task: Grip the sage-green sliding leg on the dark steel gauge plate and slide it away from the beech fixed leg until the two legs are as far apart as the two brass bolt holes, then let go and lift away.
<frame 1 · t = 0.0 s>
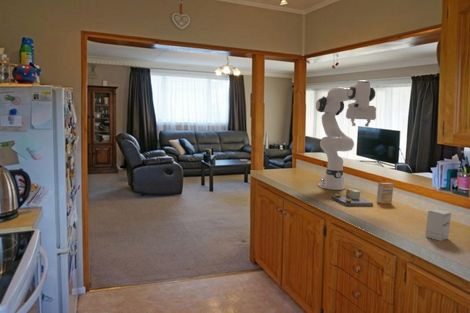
hand: (360, 126, 258), 48 cm above the worktop, tool pointing down, fingers open, 8 cm apart
fixed leg: (350, 199, 255), resting on gauge plate
sliding leg: (355, 194, 248), point 5 cm above the worktop, slide at 6.0 cm
supplement box: (384, 203, 250), on the worktop
supplement box 2: (436, 238, 180), on the worktop
gauge plate: (351, 202, 247), on the worktop
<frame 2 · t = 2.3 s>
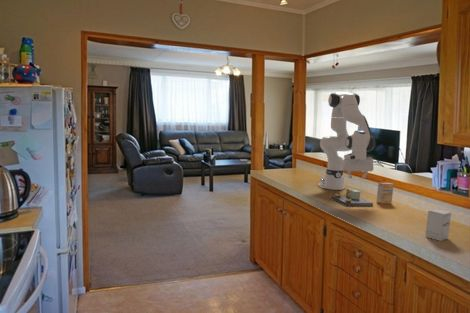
hand: (357, 178, 247), 16 cm above the worktop, tool pointing down, fingers open, 8 cm apart
nothing on the worktop moved.
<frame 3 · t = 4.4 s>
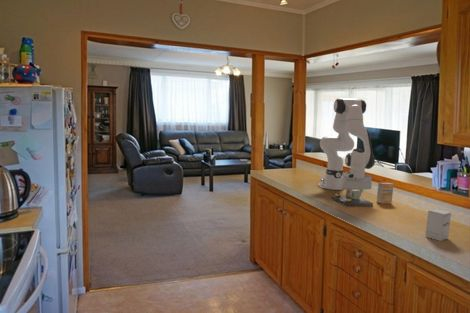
hand: (355, 196, 248), 4 cm above the worktop, tool pointing down, fingers closed on sliding leg, 4 cm apart
sliding leg: (355, 194, 248), point 5 cm above the worktop, slide at 6.0 cm, touching gripper
everything else where it was.
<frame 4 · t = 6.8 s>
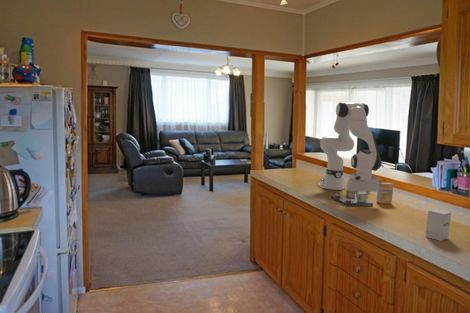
hand: (361, 198, 240), 4 cm above the worktop, tool pointing down, fingers closed on sliding leg, 4 cm apart
sliding leg: (362, 197, 240), point 5 cm above the worktop, slide at 14.1 cm, touching gripper
everything else where it was.
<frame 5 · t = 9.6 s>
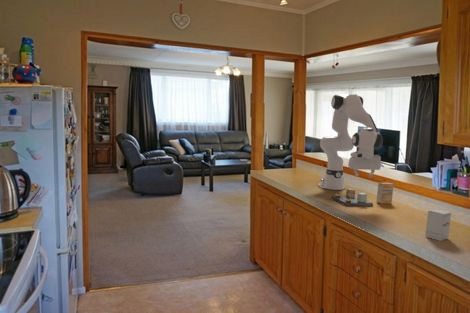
hand: (363, 176, 239), 18 cm above the worktop, tool pointing down, fingers open, 8 cm apart
sliding leg: (362, 197, 240), point 5 cm above the worktop, slide at 14.1 cm
everything else where it was.
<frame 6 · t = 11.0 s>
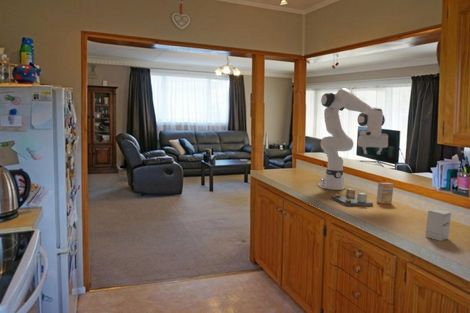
hand: (371, 154, 254), 30 cm above the worktop, tool pointing down, fingers open, 8 cm apart
nothing on the worktop moved.
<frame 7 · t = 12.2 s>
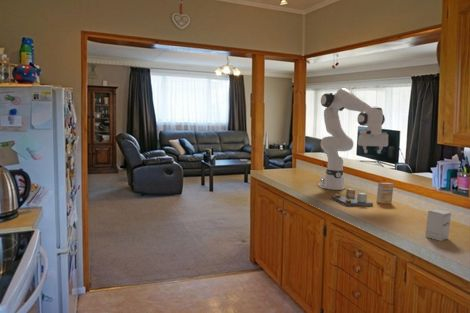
hand: (372, 153, 254), 31 cm above the worktop, tool pointing down, fingers open, 8 cm apart
nothing on the worktop moved.
at the end: sliding leg slide at 14.1 cm; the gripper is holding nothing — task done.
